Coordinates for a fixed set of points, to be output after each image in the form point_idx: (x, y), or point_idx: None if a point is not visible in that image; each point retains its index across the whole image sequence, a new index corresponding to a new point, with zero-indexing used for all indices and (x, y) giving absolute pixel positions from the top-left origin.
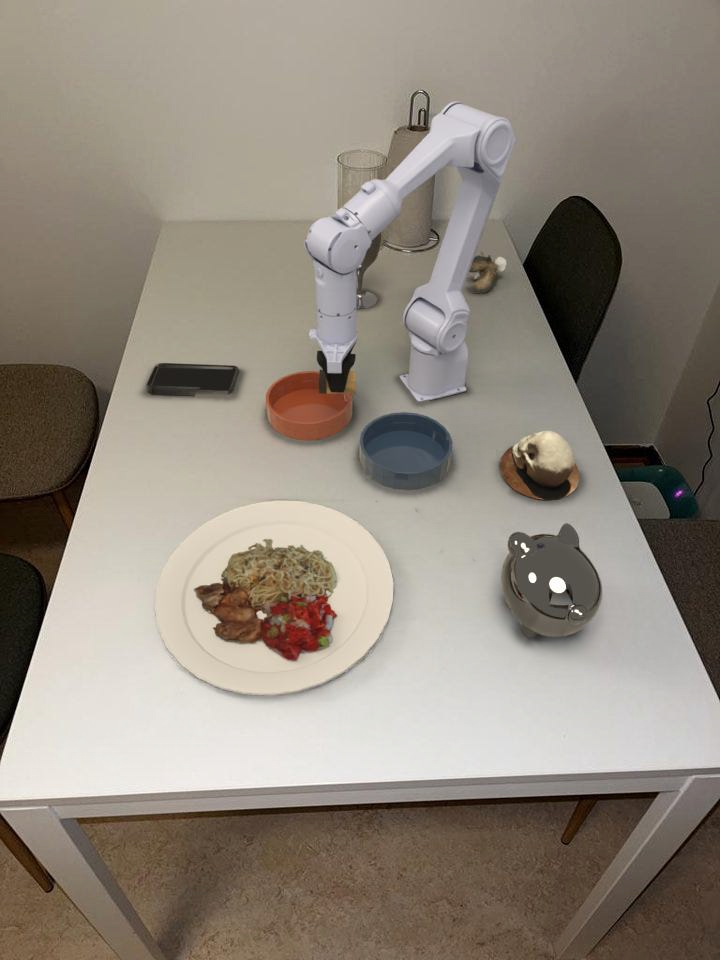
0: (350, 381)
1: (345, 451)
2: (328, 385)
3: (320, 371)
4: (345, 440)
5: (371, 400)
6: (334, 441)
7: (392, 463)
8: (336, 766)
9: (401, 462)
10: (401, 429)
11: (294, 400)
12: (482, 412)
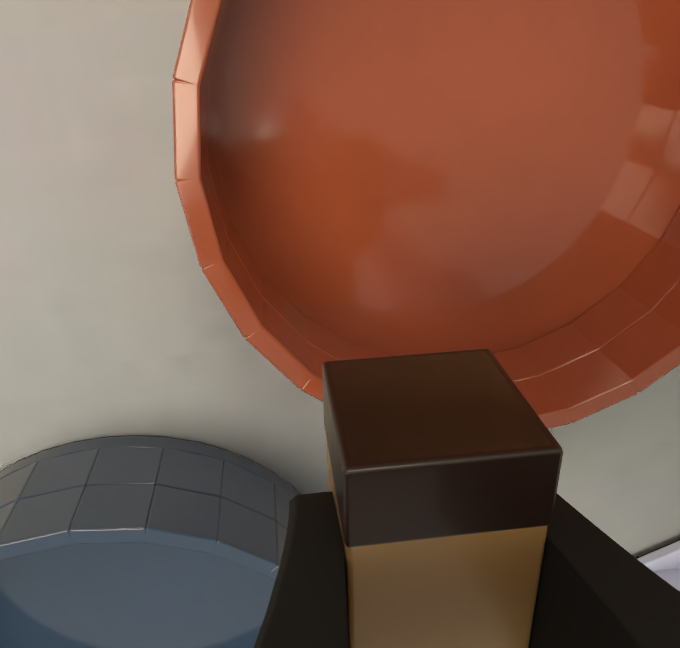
0: None
1: (160, 364)
2: (291, 542)
3: (522, 464)
4: (251, 354)
5: (572, 433)
6: None
7: (91, 576)
8: None
9: (108, 605)
10: None
11: (608, 3)
12: None
